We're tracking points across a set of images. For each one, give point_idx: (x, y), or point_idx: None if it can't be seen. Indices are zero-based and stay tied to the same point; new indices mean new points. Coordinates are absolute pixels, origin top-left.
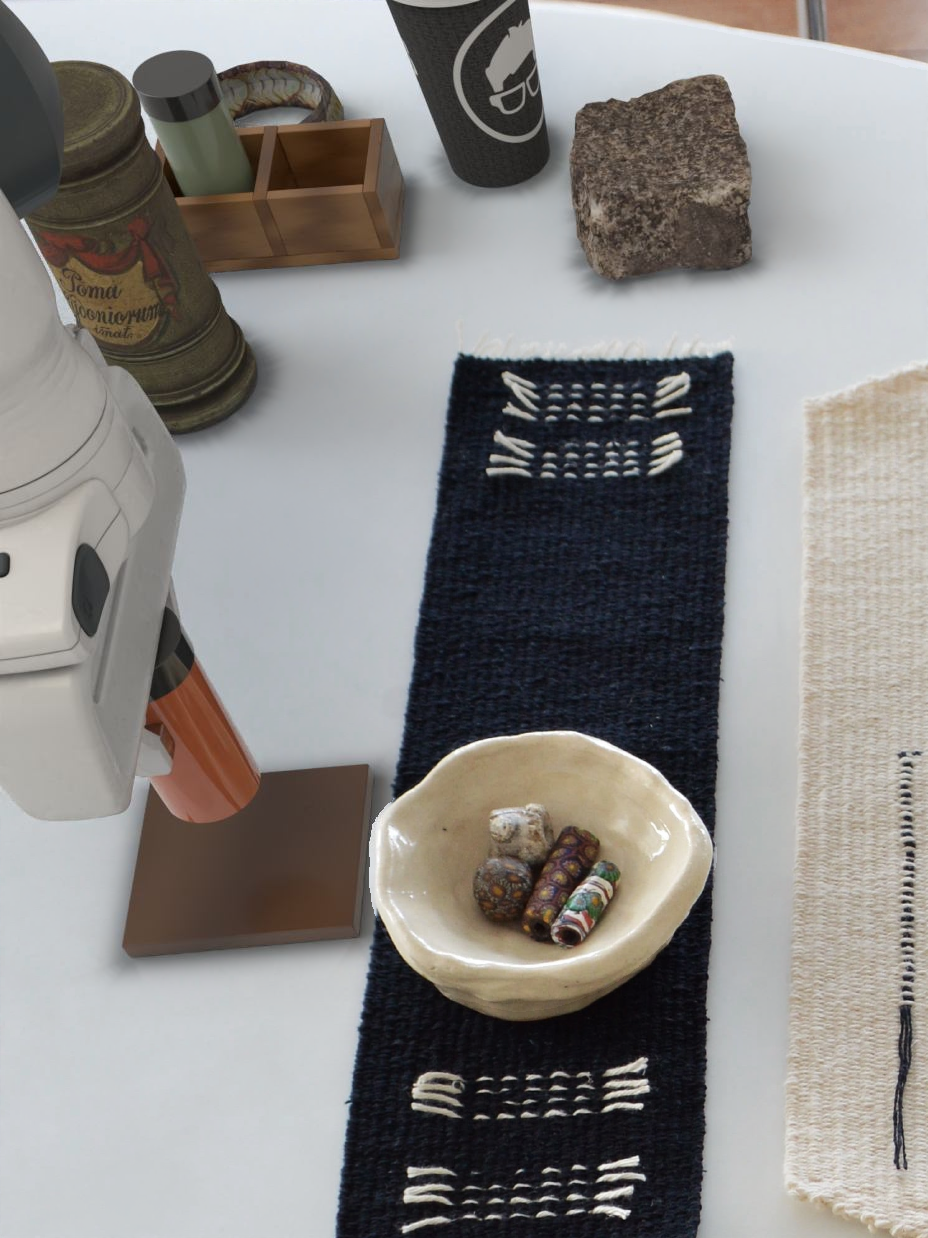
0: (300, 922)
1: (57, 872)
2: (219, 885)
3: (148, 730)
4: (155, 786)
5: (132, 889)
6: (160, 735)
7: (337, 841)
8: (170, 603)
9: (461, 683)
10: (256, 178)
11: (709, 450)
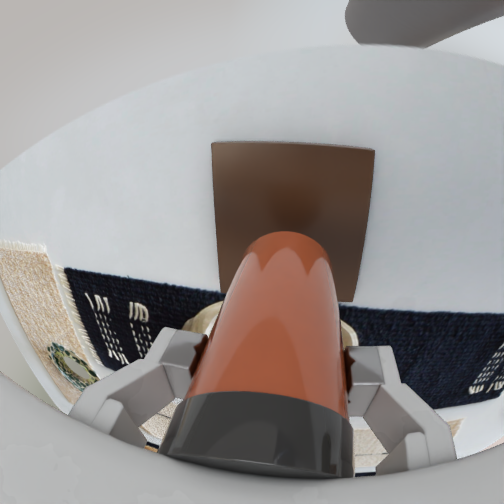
0: (224, 264)
1: (302, 76)
2: (261, 210)
3: (185, 389)
4: (242, 267)
5: (265, 143)
6: (177, 397)
7: None
8: (384, 446)
9: (402, 334)
10: None
11: (466, 400)
